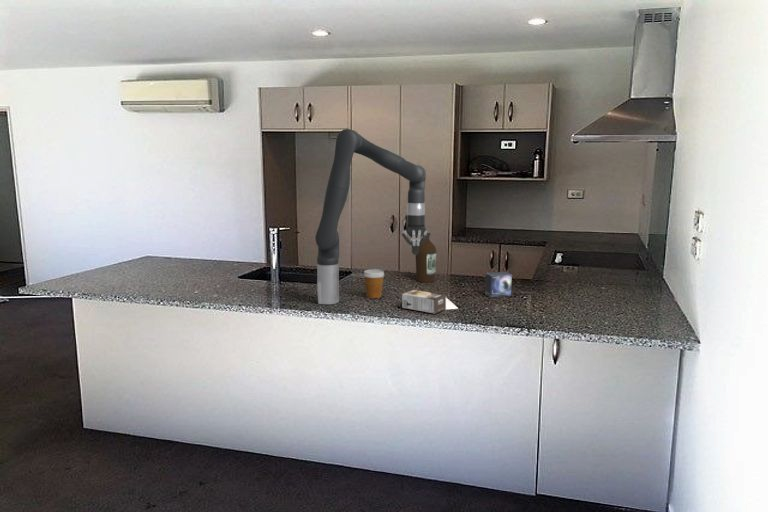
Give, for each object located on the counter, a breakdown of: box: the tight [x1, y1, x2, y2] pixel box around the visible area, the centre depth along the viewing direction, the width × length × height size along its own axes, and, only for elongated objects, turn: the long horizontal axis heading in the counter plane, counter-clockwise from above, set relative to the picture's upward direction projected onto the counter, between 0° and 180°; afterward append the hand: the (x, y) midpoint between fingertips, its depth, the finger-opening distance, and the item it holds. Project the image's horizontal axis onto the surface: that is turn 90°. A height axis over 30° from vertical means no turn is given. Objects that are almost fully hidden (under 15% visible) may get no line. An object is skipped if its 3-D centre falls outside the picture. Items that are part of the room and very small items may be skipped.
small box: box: [484, 271, 513, 299], centre depth 265 cm, size 11×6×10 cm, turn 105°
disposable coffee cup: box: [363, 268, 385, 299], centre depth 263 cm, size 10×10×12 cm
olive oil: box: [415, 233, 437, 284], centre depth 294 cm, size 11×11×25 cm
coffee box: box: [401, 289, 447, 314], centre depth 242 cm, size 9×6×16 cm
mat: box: [445, 297, 459, 310], centre depth 252 cm, size 16×18×1 cm
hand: (415, 254), depth 246 cm, fingers closed
